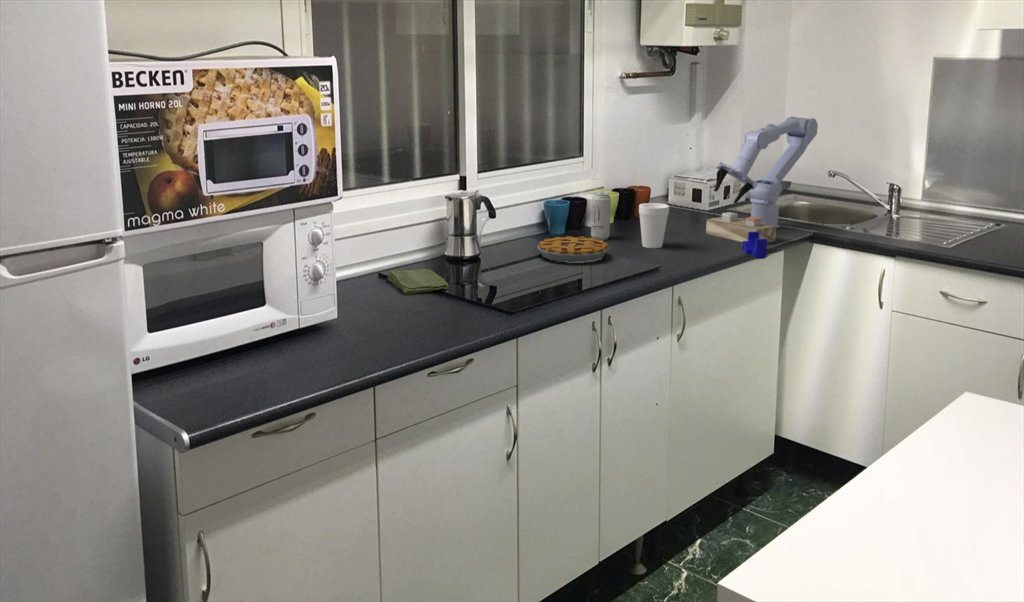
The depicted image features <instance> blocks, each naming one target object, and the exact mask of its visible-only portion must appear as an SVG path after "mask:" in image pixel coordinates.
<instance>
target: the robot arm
mask: <svg viewBox="0 0 1024 602" xmlns="http://www.w3.org/2000/svg"><path fill="white" fill-rule="evenodd" d="M818 127H819V126H818V121H817V119H816V118H814V117H813V118H807V117H796V116H790V117H786V119H785V120H784V121H782V122H781V123H779V124H773V123H768V124H766V126H765V127H760V128H758V130H750V131H748V132H747V133H745V134H744V136H743V142H742V145H741V150H740V152H739V154H738V156H737V157H736V158H735V160H734V162H733V164H732V166H731V165H728V164H727V163H724V162H722V161H720V162H718V164H717V165H716V167H715V168H716V169H718V170H717V172H716V182H715V183H716V184H715V187H714V189H713V192H715V193H716V192H718V190H719V189H720V187H721V185H722V183H723V181H724V179H725V178H726V176H727V174H728V175H729V176H730V177H732V178H734V180H737V181H739V182H740V183H742V184H743V186H741V187H740V190H739V192H738V194H737V196H736V197H735V199H734V201H733V203H734V204H737V203H738V202H739V201H740V199H741V198H742V197H744V196H745V194H746V195H747V197H748V199H749V202H750V203H751V210H750V217H757V218H762V220H761V223H764V224H769V225H774V226H777V227H776V229H780V225H778V224H779V223H778V222H779V213H780V212H779V211H780V210H779V205H778V204H777V203H776V202H777V201H778V199H779V198H780V194H781V193H782V191H783V186H782V183H781V182H782V181H783V180H784V178H785V177H786V176H787V175H788V174H789V172H790V171H791V170H792V168H793V167H794V166H795V164H796V163H797V162H798V161H799V159H800V158H801V157H802V156H803V154H804V153H805V152H806V150H807V148H808V146H809V145H810V144H811V142H812V141H813V140H814V138H815V137H816V136H817V135H818ZM782 135H786V136H785V137H786V143H787V144H788V147H787V148H786V149H785V150H784V152H783V153H782V154H781V156H779V158H778V159H777V161H776V162H775V163H774V164H773V166H772V167H771V168H770V170H769V171H768V172H767V173H766V174H765V175H762V176H759V177H757V178H756V179H755V180H753V179H752V178H751V177H749V175H748V174H749V173H750V171H751V169H752V167H753V165H754V164H755V161H756V160H757V158H758V156H759V154H760V152H761V150H766V149H767V147H769V145H770V144H772V143H774V142H776V141H778V140H779V139H780V138H781V136H782Z"/></svg>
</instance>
